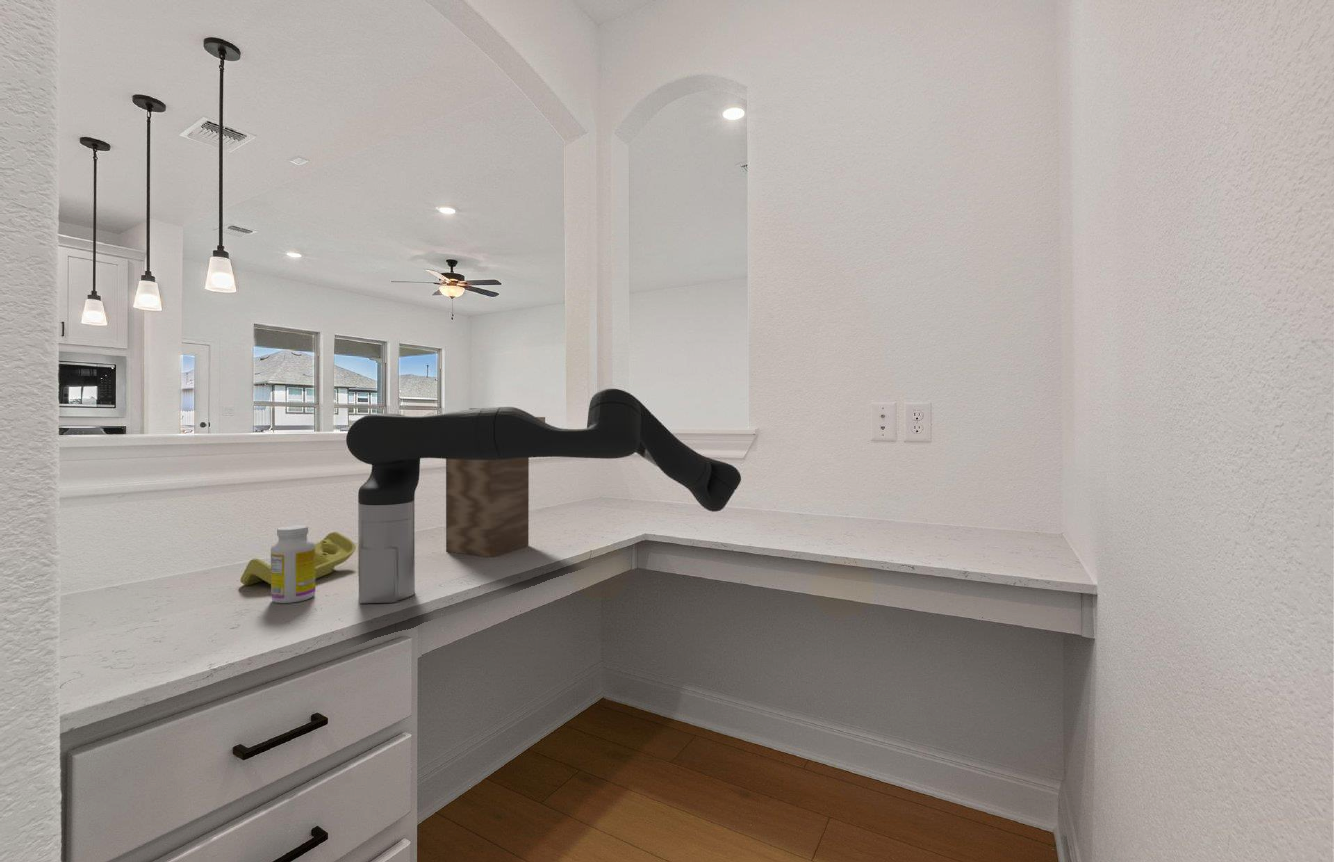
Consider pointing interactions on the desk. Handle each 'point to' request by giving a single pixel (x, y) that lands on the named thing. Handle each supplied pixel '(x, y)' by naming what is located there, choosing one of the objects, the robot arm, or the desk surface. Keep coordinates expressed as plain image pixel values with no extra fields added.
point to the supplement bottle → (292, 565)
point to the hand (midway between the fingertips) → (600, 408)
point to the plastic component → (326, 558)
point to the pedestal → (487, 506)
